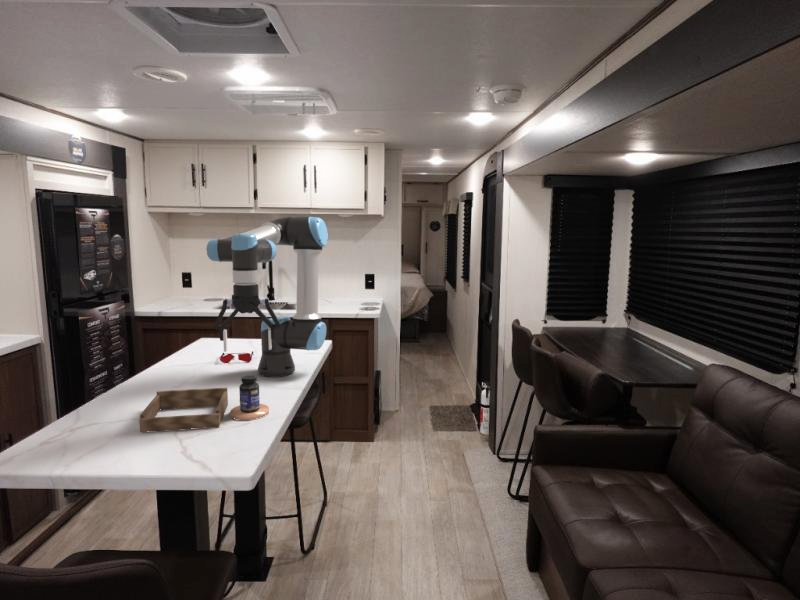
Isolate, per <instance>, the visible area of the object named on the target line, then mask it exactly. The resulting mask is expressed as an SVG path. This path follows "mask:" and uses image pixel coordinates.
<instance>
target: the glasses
mask: <svg viewBox="0 0 800 600" xmlns="http://www.w3.org/2000/svg"><path fill="white" fill-rule="evenodd" d="M253 353H254V351H251V353H249V352H245V353H242V352H237V353H236V352H235V353H234V352H233V353H232V352H231V353H226V354H225V352H222V354H221V356H220V357H219V362H221V363H223V364H225V363H228V364H229V363H230V362H231V361H234V360H235V357H236V356H235V355H237V356H238V357H237V359H238V360H239V361H242V362H246V363H250V362H251V361H252V359H253V355H254V354H253ZM223 355H225V356H223Z"/></svg>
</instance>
